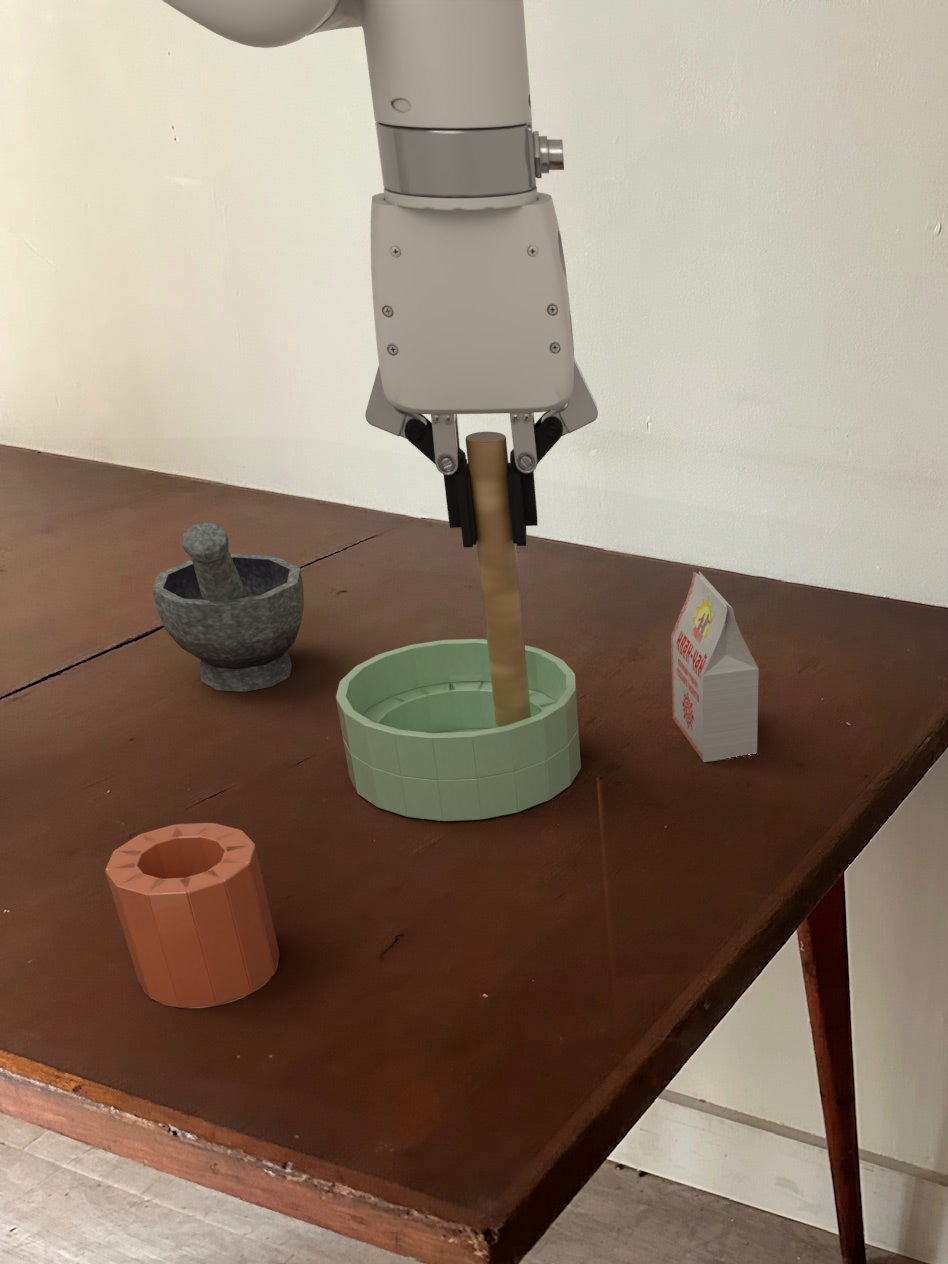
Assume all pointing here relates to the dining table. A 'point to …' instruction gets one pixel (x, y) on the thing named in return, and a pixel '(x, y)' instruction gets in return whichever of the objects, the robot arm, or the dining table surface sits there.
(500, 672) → the stick
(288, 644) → the mortar and pestle
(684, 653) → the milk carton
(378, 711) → the bowl
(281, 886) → the dining table surface
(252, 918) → the utensil pot
